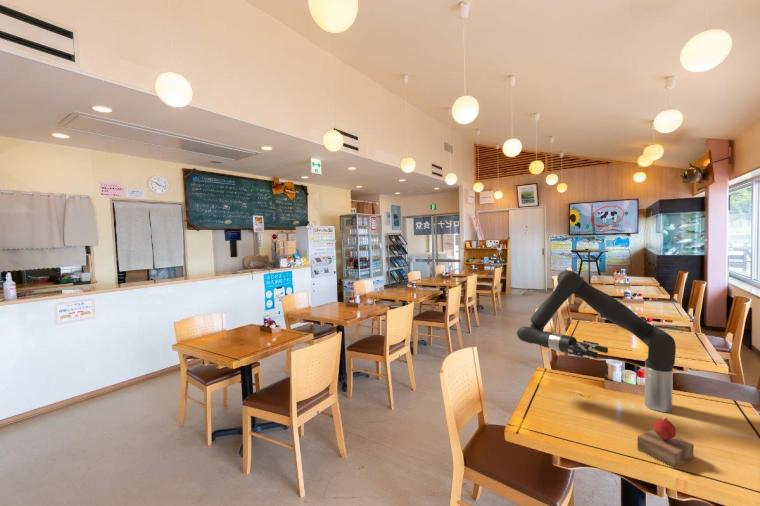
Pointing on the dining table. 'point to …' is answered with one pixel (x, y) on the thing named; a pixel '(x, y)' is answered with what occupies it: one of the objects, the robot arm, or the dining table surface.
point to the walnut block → (665, 448)
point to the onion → (664, 429)
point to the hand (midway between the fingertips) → (602, 352)
